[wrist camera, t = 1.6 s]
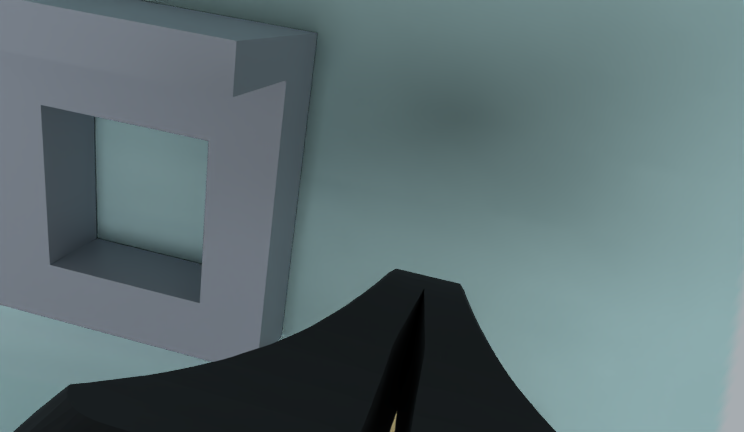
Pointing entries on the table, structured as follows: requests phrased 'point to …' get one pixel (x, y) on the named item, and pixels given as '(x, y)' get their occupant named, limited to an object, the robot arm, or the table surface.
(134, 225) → the table surface
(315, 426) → the robot arm
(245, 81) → the grey square frame
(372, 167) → the table surface
